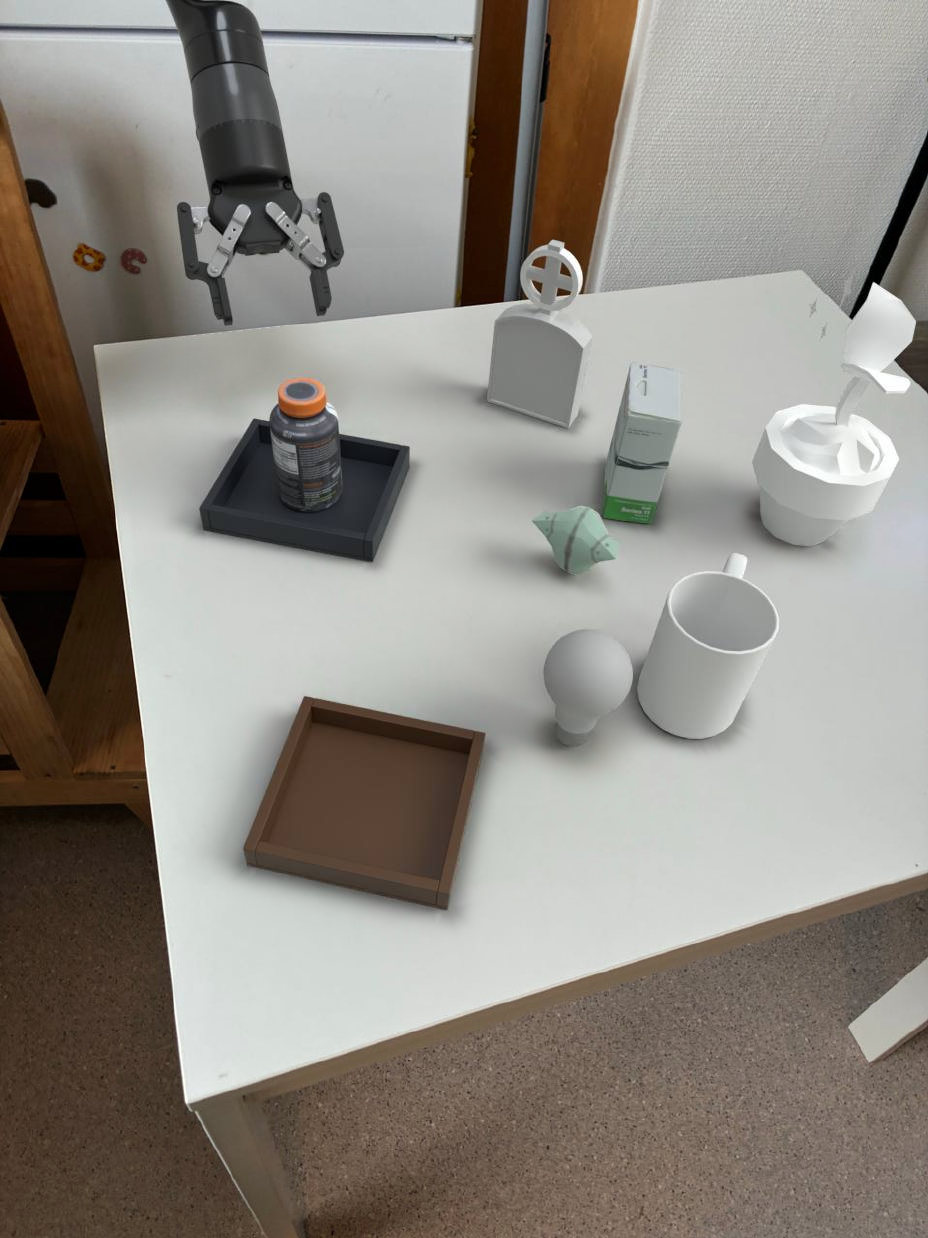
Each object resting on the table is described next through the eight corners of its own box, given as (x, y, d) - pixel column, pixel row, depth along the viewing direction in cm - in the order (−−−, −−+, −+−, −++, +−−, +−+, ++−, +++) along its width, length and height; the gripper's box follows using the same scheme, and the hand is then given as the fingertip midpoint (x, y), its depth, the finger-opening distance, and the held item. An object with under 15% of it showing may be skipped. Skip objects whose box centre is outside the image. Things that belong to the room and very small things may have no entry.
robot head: (521, 564, 80) (530, 506, 75) (543, 538, 83) (553, 480, 77) (601, 602, 78) (617, 545, 73) (621, 574, 80) (638, 517, 75)
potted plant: (738, 474, 91) (831, 229, 72) (856, 503, 89) (982, 260, 70) (724, 556, 83) (824, 304, 64) (853, 590, 81) (995, 341, 62)
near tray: (246, 865, 60) (242, 848, 58) (306, 714, 68) (304, 695, 66) (447, 910, 58) (449, 894, 57) (483, 750, 67) (485, 732, 65)
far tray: (203, 530, 80) (198, 508, 78) (256, 439, 89) (253, 417, 87) (372, 562, 79) (372, 541, 77) (409, 467, 88) (410, 445, 86)
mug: (724, 755, 68) (768, 669, 60) (624, 718, 70) (654, 629, 62) (754, 644, 76) (797, 555, 68) (663, 613, 77) (695, 522, 69)
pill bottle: (343, 472, 86) (339, 369, 78) (341, 514, 82) (336, 410, 74) (280, 471, 86) (268, 368, 77) (275, 513, 82) (262, 409, 73)
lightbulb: (607, 708, 70) (637, 614, 62) (612, 775, 66) (645, 684, 58) (529, 702, 70) (548, 607, 62) (530, 770, 66) (551, 677, 58)
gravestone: (568, 428, 94) (599, 263, 80) (486, 401, 96) (503, 235, 83) (577, 415, 96) (609, 250, 82) (497, 388, 98) (515, 224, 84)
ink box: (652, 526, 85) (684, 422, 76) (600, 518, 85) (625, 413, 76) (654, 469, 90) (683, 365, 82) (605, 461, 91) (629, 357, 82)
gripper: (156, 119, 75) (196, 315, 77) (324, 111, 79) (358, 298, 81) (161, 159, 83) (197, 338, 84) (314, 150, 86) (346, 321, 88)
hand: (276, 318), depth 82 cm, fingers open, 8 cm apart
